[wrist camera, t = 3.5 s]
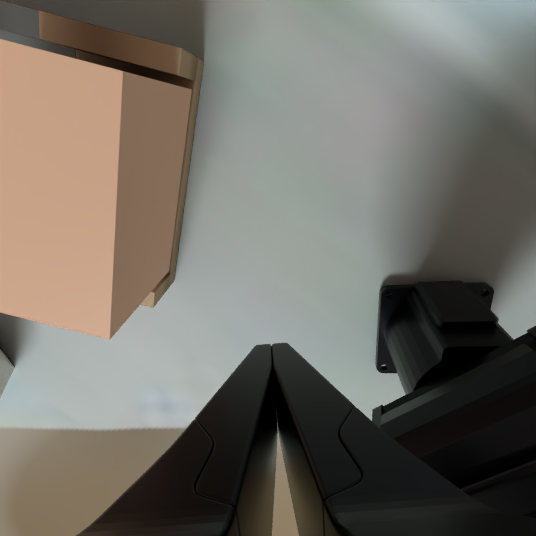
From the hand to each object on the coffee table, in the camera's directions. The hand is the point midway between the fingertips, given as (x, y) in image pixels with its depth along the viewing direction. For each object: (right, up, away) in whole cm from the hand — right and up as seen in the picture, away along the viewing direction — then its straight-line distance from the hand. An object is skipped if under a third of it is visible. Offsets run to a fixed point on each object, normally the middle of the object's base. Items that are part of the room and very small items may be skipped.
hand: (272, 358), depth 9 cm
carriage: (-8, +7, +9) cm, 14 cm away
